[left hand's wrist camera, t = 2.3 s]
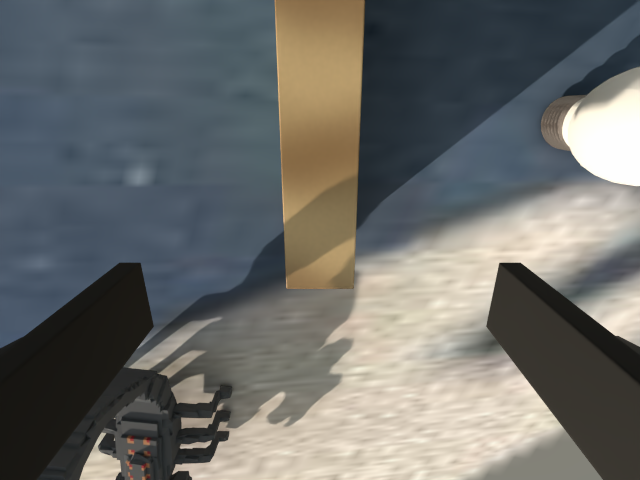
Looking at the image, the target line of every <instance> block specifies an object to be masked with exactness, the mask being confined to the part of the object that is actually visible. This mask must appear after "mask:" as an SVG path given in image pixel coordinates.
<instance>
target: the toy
mask: <svg viewBox="0 0 640 480" xmlns="http://www.w3.org/2000/svg"><path fill="white" fill-rule="evenodd" d="M231 393H232V387H229V386H221V387H220V391H217V392H216V393H215V395H214V398H213V400H212V402H210V403H198V404H187V403H178V404H177V402H176V399H175V397H174V394H173V392H172V391H171V388H170V385H169V382H168V378H167V376H164V375H161V374H157V372H156V371H150V370H141V369H132V368H123V367H122V369H121V370H120V371H119V373H118V374H117V375H116V376H115V378H114V379H113V380H112V382H111V383H110V384H109V386H108V387H107V388H106V390H105V391H104V392H103V394H102V395H101V396H100V397H99V399H98V400H97V401H96V403H95V404H94V405H93V407H92V408H91V409H90V411H89V412H88V413H87V415H86V416H85V417H84V418H83V420H82V421H81V422H80V424H79V425H78V426H77V428H76V429H75V430H74V432H73V433H72V434H71V436H70V437H69V438H68V439H67V441H66V442H65V443H64V445H63V446H62V447H61V449H60V450H59V451H58V453H57V454H56V455H55V457H54V458H53V459H52V460H51V462H50V463H49V464H48V466H47V467H46V468H45V470H44V471H43V472H42V474H41V475H40V476H39V478H38V479H37V480H79V479H80V476H81V473H82V470H83V467H84V465H85V463H86V461H87V459H88V457H89V455H90V453H91V451H92V449H93V447H94V445H95V443H96V441H97V439H98V437H99V435H100V434H101V432H103V433H106V435H105V436H104V438H103V439H102V441H101V442H100V444H99V445H98V448H99V451H100V452H102V453H104V454H107V455H111V456H112V457H113V458H117V460H120V463H121V472H120V473H119V474H118V476H117V477H116V480H192V477H190V476H189V471H178V472H176V473H175V474H173V475H172V473H173V470H174V468H175V464H181V465H182V463H206V462H210V461H211V459H212V457H213V456H214V453H215V451H216V448H217V445H218V443H219V442H220V441H226V440H228V437H229V431H217V429H218V426H219V423H220V422H223V421H228V420H229V418H230V412H227V411H218V410H217V411H216V409H217V405H218V402H219V401H220V400H221V399H225V398H230V397H231ZM213 412H216V414H215V417H214V420H213V423H212V424H209V426H208V428H185V429H181V417H186V418H212V415H213ZM115 416H116V419H113V418H114V417H115ZM114 438H115V441H114ZM210 440H212V442H211V444H210V445H209V446H208V447H207V448H193V449H180V445H181V444H191V443H195V442H207V441H210Z"/></svg>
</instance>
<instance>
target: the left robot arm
mask: <svg viewBox="0 0 640 480" xmlns="http://www.w3.org/2000/svg"><path fill="white" fill-rule="evenodd" d="M153 327H154V326H153V321H152V316H151V311H150V306H149V301H148V297H147V292H146V287H145V282H144V277H143V273H142V268H141V263H119V264H117V265H116V266H115V267H113V268H112V269H111V270H110V271H108V272H107V273H106V274H104V275H103V276H102V277H101V278H99V279H98V280H97V281H95V282H94V283H93V284H91V285H90V286H89V287H88V288H86V289H85V290H84V291H82V292H81V293H80V294H79V295H77V296H76V297H75V298H73V299H72V300H71V301H69V302H68V303H67V304H66V305H64V306H63V307H62V308H60V309H59V310H58V311H57V312H55V313H54V314H53V315H51V316H50V317H49V318H47V319H46V320H45V321H44V322H42V323H41V324H40V325H38V326H37V327H36V328H34V329H33V330H32V331H31V332H29V333H28V334H27V335H25V336H24V337H22V338H20V339H18V340H16V341H14V342H12V343H10V344H8V345H6V346H4V347H2V348H0V480H37V479H38V478H39V476H40V475H41V474H42V472H43V471H44V470H45V468H46V467H47V466H48V464H49V463H50V462H51V460H52V459H53V458H54V457H55V455H56V454H57V453H58V451H59V450H60V449H61V447H62V446H63V445H64V443H65V442H66V441H67V439H68V438H69V437H70V436H71V434H72V433H73V432H74V430H75V429H76V428H77V426H78V425H79V424H80V422H81V421H82V420H83V418H84V417H85V416H86V415H87V413H88V412H89V411H90V409H91V408H92V407H93V405H94V404H95V403H96V401H97V400H98V399H99V397H100V396H101V395H102V394H103V392H104V391H105V390H106V388H107V387H108V386H109V384H110V383H111V382H112V380H113V379H114V378H115V376H116V375H117V374H118V373H119V371H120V370H121V369H122V367H123V366H124V365H125V363H126V362H127V361H128V359H129V358H130V357H131V355H132V354H133V353H134V352H135V350H136V349H137V348H138V346H139V345H140V344H141V342H142V341H143V340H144V338H145V337H146V336H147V334H148V333H149V332H150V331H151V329H152V328H153ZM486 327H487V328H488V329H489V331H490V332H491V333H492V334H493V336H494V337H495V338H496V340H497V341H498V342H499V344H500V345H501V346H502V348H503V349H504V350H505V352H506V353H507V354H508V355H509V357H510V358H511V359H512V361H513V362H514V363H515V365H516V366H517V367H518V369H519V370H520V371H521V373H522V374H523V375H524V376H525V378H526V379H527V380H528V382H529V383H530V384H531V386H532V387H533V388H534V390H535V391H536V392H537V394H538V395H539V396H540V397H541V399H542V400H543V401H544V403H545V404H546V405H547V407H548V408H549V409H550V411H551V412H552V413H553V415H554V416H555V417H556V418H557V420H558V421H559V422H560V424H561V425H562V426H563V428H564V429H565V430H566V432H567V433H568V434H569V436H570V437H571V438H572V439H573V441H574V442H575V443H576V445H577V446H578V447H579V449H580V450H581V451H582V453H583V454H584V455H585V457H586V458H587V459H588V460H589V462H590V463H591V464H592V466H593V467H594V468H595V470H596V471H597V472H598V474H599V475H600V476H601V477H602V479H603V480H640V347H639V346H637V345H635V344H633V343H631V342H629V341H627V340H625V339H623V338H621V337H619V336H615V335H613V334H612V333H611V332H609V331H608V330H607V329H606V328H604V327H603V326H602V325H600V324H599V323H598V322H596V321H595V320H594V319H593V318H591V317H590V316H589V315H587V314H586V313H585V312H583V311H582V310H581V309H580V308H578V307H577V306H576V305H574V304H573V303H572V302H571V301H569V300H568V299H567V298H565V297H564V296H563V295H561V294H560V293H559V292H558V291H556V290H555V289H554V288H552V287H551V286H550V285H549V284H547V283H546V282H545V281H543V280H542V279H541V278H539V277H538V276H537V275H536V274H534V273H533V272H532V271H530V270H529V269H528V268H527V267H525V266H524V265H523V264H521V263H499V268H498V273H497V277H496V282H495V287H494V292H493V297H492V301H491V306H490V311H489V316H488V321H487V326H486Z"/></svg>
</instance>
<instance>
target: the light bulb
mask: <svg viewBox="0 0 640 480" xmlns="http://www.w3.org/2000/svg"><path fill="white" fill-rule="evenodd" d="M541 131H542V134H543V137H544V139H545V140H546V141H547V143H549V144H550V145H551V146H553V147H555V148H557V149H562V150H568V151H571V152H572V154H573V155H574V157H575V158H576V159H577V161H578V162H579V163H580V164H581V166H583V167H584V168H585V169H587V170H588V171H590V172H591V173H593V174H594V175H596V176H598V177H601V178H603V179H606V180H608V181H611V182H615V183H620V184H627V185H633V186H640V67H637V68H633V69H630V70H628V71H626V72H623V73H621V74H619V75H616V76H614V77H612V78H610V79H608V80H607V81H605V82H604V83H602V84H600V85H599V86H598V87H596V88H595V89H593V90H592V91H591V92H590V93H589V94H588V95H576V96H565V97H561V98H559V99H557V100H555V101H554V102H552V103H551V104H550V105H549V106H548V108H547V109H546V110H545V112H544V114H543V117H542V121H541Z"/></svg>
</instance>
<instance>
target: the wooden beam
mask: <svg viewBox="0 0 640 480" xmlns="http://www.w3.org/2000/svg"><path fill="white" fill-rule="evenodd" d="M275 17H276V42H277V67H278V92H279V117H280V142H281V167H282V192H283V217H284V242H285V267H286V288H287V289H353V288H354V267H355V242H356V217H357V192H358V167H359V142H360V117H361V92H362V67H363V42H364V17H365V0H275Z"/></svg>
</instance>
